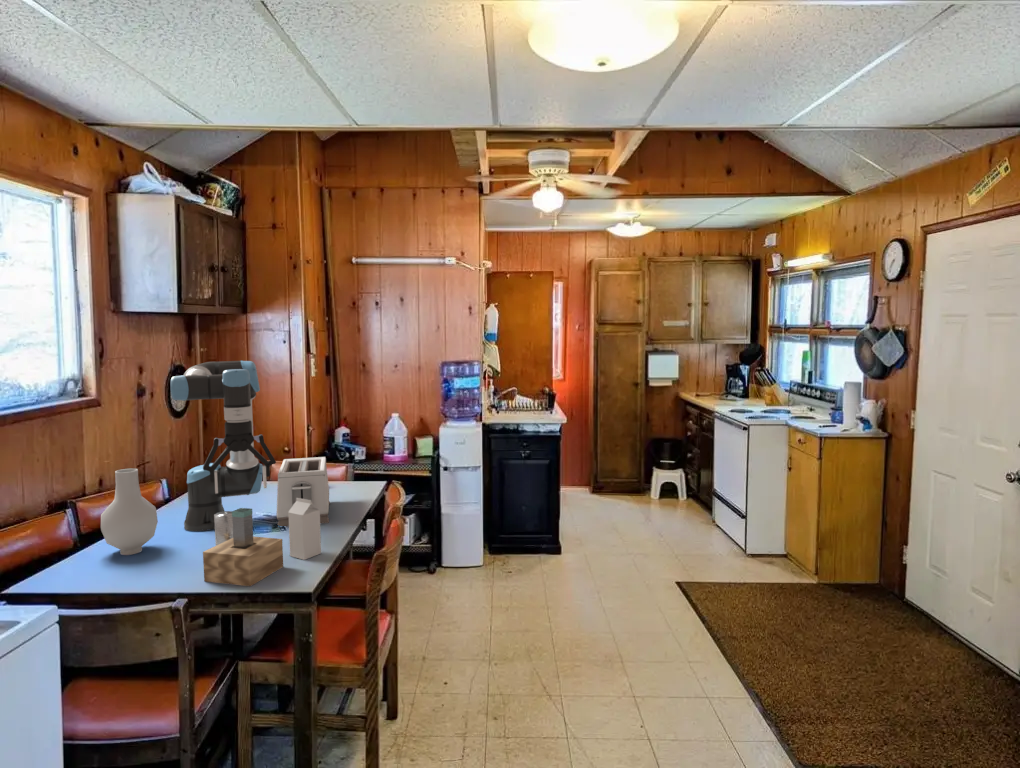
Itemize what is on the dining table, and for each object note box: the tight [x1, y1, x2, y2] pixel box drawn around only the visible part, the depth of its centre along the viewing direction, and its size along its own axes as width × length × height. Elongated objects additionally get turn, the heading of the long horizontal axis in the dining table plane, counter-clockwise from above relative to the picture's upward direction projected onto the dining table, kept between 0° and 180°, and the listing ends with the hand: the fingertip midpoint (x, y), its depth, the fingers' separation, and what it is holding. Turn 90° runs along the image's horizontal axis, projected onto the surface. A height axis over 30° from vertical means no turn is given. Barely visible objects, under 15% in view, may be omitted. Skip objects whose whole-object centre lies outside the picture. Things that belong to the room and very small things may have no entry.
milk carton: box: [288, 498, 322, 561], centre depth 212 cm, size 7×7×19 cm
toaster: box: [276, 456, 331, 527], centre depth 258 cm, size 19×34×21 cm, turn 15°
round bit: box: [214, 510, 233, 546], centre depth 213 cm, size 6×6×14 cm
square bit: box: [231, 507, 254, 549], centre depth 195 cm, size 4×4×16 cm
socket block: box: [202, 535, 284, 587], centre depth 196 cm, size 16×16×9 cm
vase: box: [100, 468, 159, 556], centre depth 216 cm, size 17×16×28 cm
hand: (241, 489), depth 194 cm, fingers open, 13 cm apart
